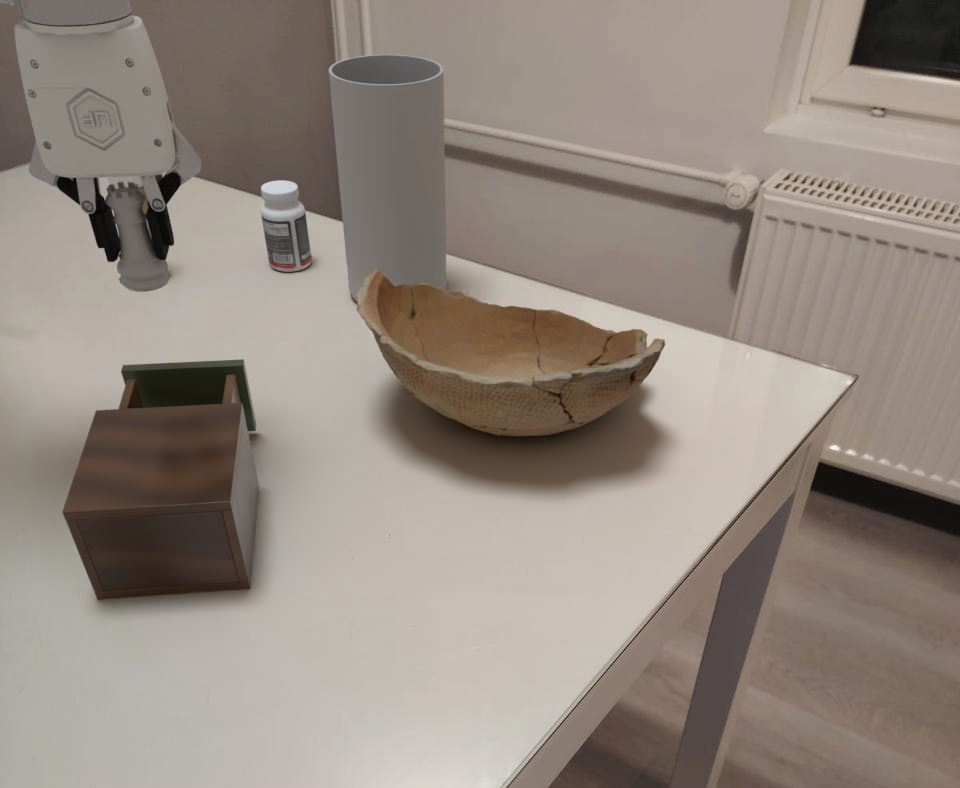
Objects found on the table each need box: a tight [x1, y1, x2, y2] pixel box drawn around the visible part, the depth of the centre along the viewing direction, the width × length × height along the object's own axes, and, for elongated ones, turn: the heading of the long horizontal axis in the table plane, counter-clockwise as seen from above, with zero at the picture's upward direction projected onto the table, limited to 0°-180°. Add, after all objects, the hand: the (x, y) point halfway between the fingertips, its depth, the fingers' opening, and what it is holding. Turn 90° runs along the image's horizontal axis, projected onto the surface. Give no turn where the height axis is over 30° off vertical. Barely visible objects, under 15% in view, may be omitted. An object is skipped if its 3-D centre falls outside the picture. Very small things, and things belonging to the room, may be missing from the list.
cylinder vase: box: [328, 54, 448, 303], centre depth 107 cm, size 12×12×25 cm
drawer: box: [118, 358, 257, 432], centre depth 86 cm, size 18×11×7 cm, turn 7°
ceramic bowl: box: [356, 270, 666, 437], centre depth 92 cm, size 30×27×15 cm
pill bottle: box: [260, 179, 312, 273], centre depth 118 cm, size 6×6×10 cm
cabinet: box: [61, 403, 260, 600], centre depth 77 cm, size 15×13×9 cm
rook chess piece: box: [104, 182, 172, 293], centre depth 77 cm, size 4×4×8 cm
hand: (138, 252), depth 78 cm, fingers closed on rook chess piece, 3 cm apart
